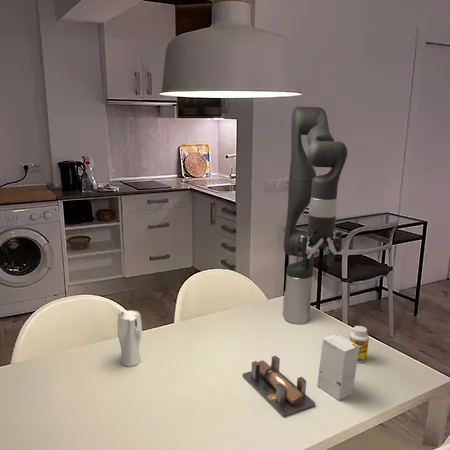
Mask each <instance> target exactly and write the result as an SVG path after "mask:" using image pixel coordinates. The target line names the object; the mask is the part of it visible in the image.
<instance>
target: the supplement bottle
mask: <svg viewBox="0 0 450 450" xmlns="http://www.w3.org/2000/svg"><path fill="white" fill-rule="evenodd" d="M349 340H350V341H351V342H353V343H354V344H356V345H358V346H359V353H358V360H357V364H358V363H360V364H361V363H364V362H366V361H367V357H368V350H369V349H368V348H369V341H370V336H369V334H368V328H366V327H365V326H362V325H354V327H353V330H352V331H351V332H350V335H349Z"/></svg>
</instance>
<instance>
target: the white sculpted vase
mask: <svg viewBox="0 0 450 450" xmlns="http://www.w3.org/2000/svg"><path fill="white" fill-rule="evenodd" d="M141 315H142V314H141V312H139V311H137V310H131V309H130V310H124V311H121V312H120V313H118V315H117V337H118V341H119V346H120V350H121V351H120V353H121V354H120V360H119V361H120V362H119V363H120V364H121V365H122V366H124V367H134V366H137V365H139V364H140V363H141V361H142V360H141V358H142V357H141V353H140V344H141V339H142V331H143V330H142V329H143V328H142V327H143V326H142V325H143V323H142V317H141Z"/></svg>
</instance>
